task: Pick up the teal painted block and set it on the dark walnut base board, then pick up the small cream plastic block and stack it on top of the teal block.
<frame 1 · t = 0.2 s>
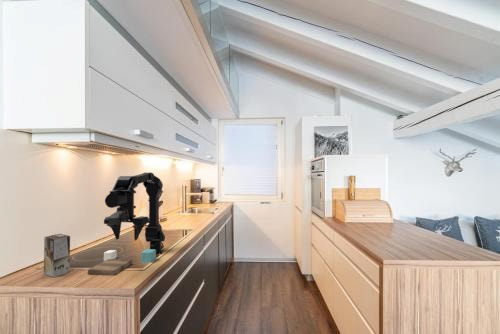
hand: (126, 239, 105), 14 cm above the counter, tool pointing down, fingers open, 9 cm apart
teal block: (148, 261, 118), on the counter
coffee box: (56, 273, 104), on the counter
walnut base: (111, 268, 108), on the counter
cream block: (110, 259, 121), on the counter
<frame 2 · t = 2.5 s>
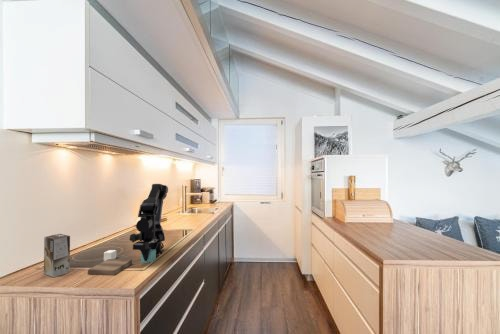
hand: (148, 258, 118), 1 cm above the counter, tool pointing down, fingers closed on teal block, 5 cm apart
teal block: (148, 260, 118), on the counter, touching gripper
everything else where it was.
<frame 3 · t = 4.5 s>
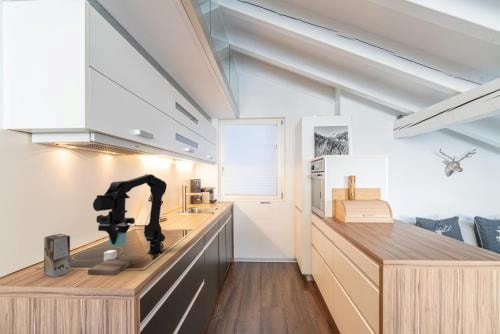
hand: (117, 242, 110), 12 cm above the counter, tool pointing down, fingers closed on teal block, 5 cm apart
teal block: (117, 244, 110), point 11 cm above the counter, touching gripper
everything else where it was.
when the fingers open (4 cm above the counter, at t = 6.3 s): teal block drops 1 cm, resting on walnut base.
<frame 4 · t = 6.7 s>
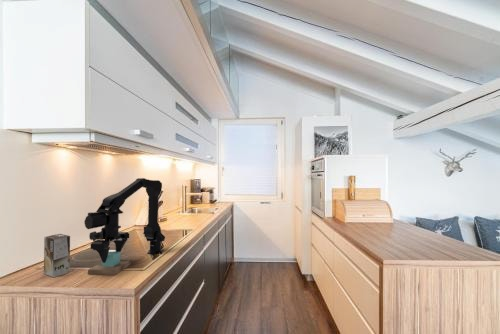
hand: (111, 258, 108), 4 cm above the counter, tool pointing down, fingers open, 9 cm apart
teal block: (111, 264, 108), point 2 cm above the counter, touching walnut base
everything else where it was.
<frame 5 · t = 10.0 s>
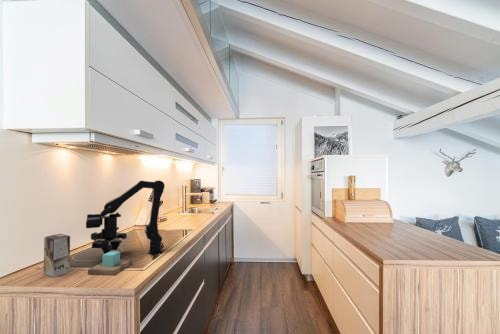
hand: (110, 257, 121), 1 cm above the counter, tool pointing down, fingers closed on cream block, 4 cm apart
cream block: (110, 259, 121), on the counter, touching gripper
everything else where it was.
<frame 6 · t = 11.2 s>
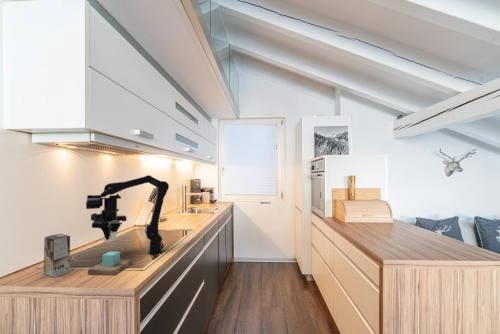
hand: (110, 238, 121), 11 cm above the counter, tool pointing down, fingers closed on cream block, 4 cm apart
cream block: (110, 240, 121), point 9 cm above the counter, touching gripper
everything else where it was.
when the fingers open (9 cm above the counter, at t = 12.7 s): cream block drops 1 cm, resting on teal block.
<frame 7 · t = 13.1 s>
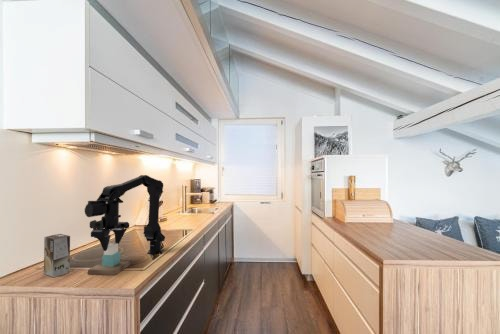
hand: (111, 247, 108), 9 cm above the counter, tool pointing down, fingers open, 8 cm apart
teal block: (111, 264, 108), point 2 cm above the counter, touching cream block, walnut base
cream block: (111, 253, 108), point 7 cm above the counter, touching teal block
everything else where it was.
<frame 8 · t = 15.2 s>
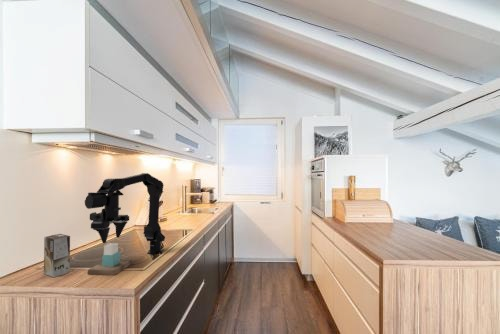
hand: (111, 240, 109), 13 cm above the counter, tool pointing down, fingers open, 9 cm apart
nothing on the counter moved.
at the end: teal block inside the target area on the walnut base (0.1 cm from its centre), point 2.0 cm above the walnut base's base; cream block 0.2 cm off-centre on the teal block, point 5.0 cm above the teal block's base; cream block tilted 0° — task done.
